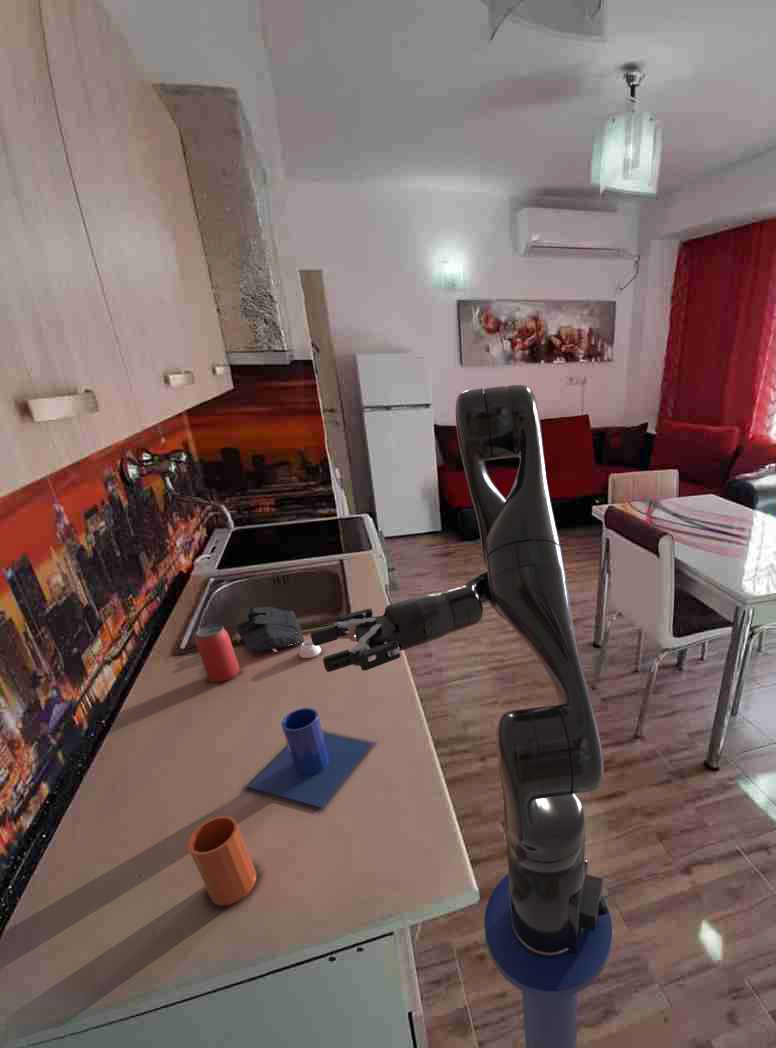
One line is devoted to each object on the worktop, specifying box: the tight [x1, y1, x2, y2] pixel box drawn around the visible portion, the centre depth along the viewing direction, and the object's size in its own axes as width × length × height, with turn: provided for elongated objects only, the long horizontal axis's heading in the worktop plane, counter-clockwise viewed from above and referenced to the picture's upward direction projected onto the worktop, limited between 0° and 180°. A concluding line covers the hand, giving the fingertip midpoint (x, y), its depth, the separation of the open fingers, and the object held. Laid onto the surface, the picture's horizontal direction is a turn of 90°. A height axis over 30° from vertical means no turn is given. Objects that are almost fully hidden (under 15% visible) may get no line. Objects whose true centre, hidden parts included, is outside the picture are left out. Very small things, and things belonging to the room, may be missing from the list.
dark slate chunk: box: [235, 606, 305, 654], centre depth 133 cm, size 15×22×5 cm
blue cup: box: [281, 707, 329, 776], centre depth 88 cm, size 6×6×10 cm
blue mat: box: [247, 732, 373, 809], centre depth 90 cm, size 15×15×1 cm
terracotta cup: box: [186, 815, 257, 906], centre depth 68 cm, size 6×6×10 cm
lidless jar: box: [298, 639, 322, 659], centre depth 124 cm, size 5×3×5 cm
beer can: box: [195, 624, 241, 683], centre depth 116 cm, size 7×7×12 cm
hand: (317, 651), depth 75 cm, fingers open, 8 cm apart
